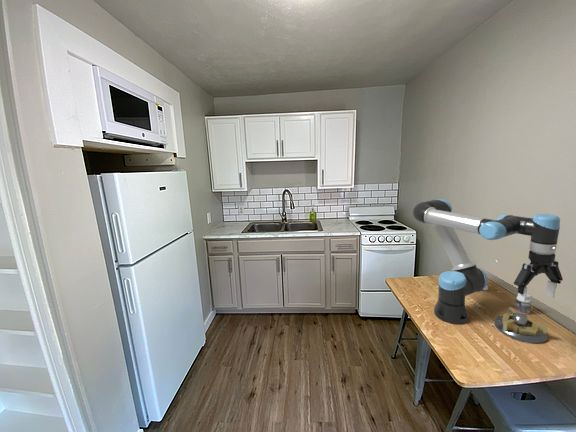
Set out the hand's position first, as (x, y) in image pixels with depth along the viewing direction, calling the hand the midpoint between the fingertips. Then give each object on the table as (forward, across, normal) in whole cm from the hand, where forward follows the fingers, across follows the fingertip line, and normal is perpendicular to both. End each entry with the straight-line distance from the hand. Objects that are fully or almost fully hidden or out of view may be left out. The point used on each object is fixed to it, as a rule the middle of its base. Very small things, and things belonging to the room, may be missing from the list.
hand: (535, 297), depth 104 cm
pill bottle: (+21, +16, +18) cm, 32 cm away
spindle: (+21, +1, +6) cm, 22 cm away
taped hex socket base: (+19, +2, +5) cm, 20 cm away
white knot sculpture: (+21, +14, +44) cm, 50 cm away
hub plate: (+21, +1, +6) cm, 22 cm away
